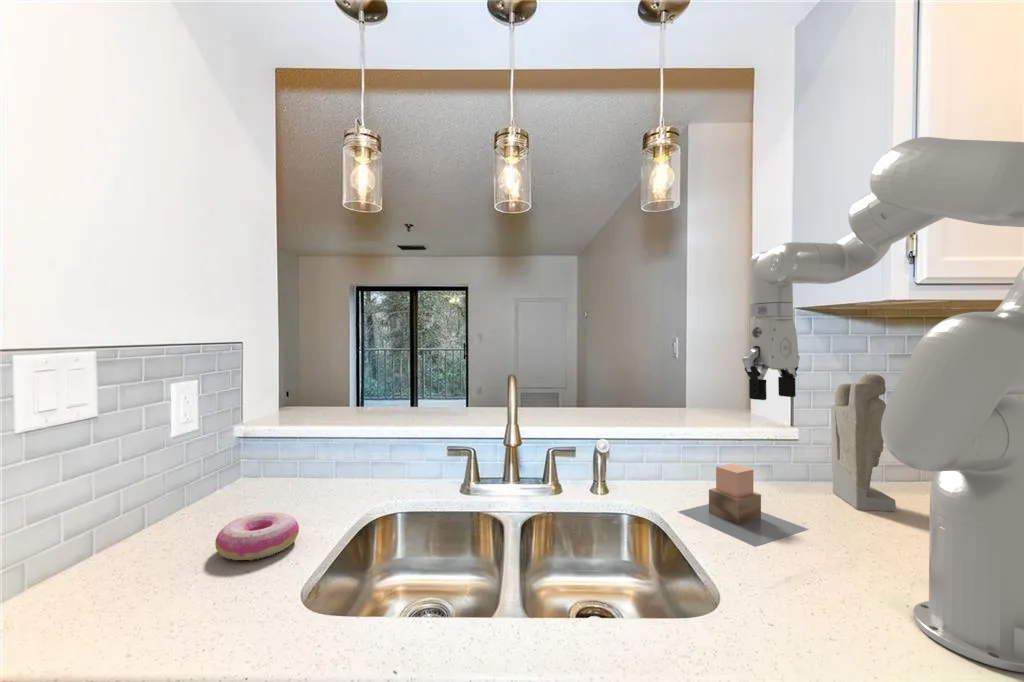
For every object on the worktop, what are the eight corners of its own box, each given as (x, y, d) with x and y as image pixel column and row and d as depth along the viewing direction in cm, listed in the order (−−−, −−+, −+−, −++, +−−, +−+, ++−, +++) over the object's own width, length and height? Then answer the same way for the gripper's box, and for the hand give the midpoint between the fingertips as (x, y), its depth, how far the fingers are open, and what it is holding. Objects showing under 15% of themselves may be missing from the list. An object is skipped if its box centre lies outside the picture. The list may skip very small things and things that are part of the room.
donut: (269, 569, 76) (268, 539, 76) (195, 565, 78) (195, 536, 77) (312, 534, 90) (312, 509, 90) (248, 531, 91) (248, 506, 91)
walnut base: (760, 518, 93) (761, 494, 93) (738, 525, 90) (738, 500, 90) (731, 507, 100) (731, 484, 100) (708, 512, 97) (708, 489, 97)
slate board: (808, 534, 88) (808, 529, 88) (755, 552, 81) (755, 546, 81) (727, 503, 104) (727, 499, 104) (677, 516, 97) (677, 511, 97)
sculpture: (904, 517, 96) (906, 376, 96) (861, 514, 98) (862, 375, 98) (865, 493, 111) (866, 370, 111) (828, 490, 113) (828, 370, 112)
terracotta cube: (753, 493, 94) (753, 469, 94) (737, 497, 92) (737, 473, 92) (732, 486, 98) (732, 463, 98) (716, 490, 96) (716, 466, 96)
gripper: (763, 310, 84) (764, 402, 84) (814, 313, 93) (816, 397, 92) (727, 313, 91) (728, 398, 91) (778, 315, 99) (779, 393, 99)
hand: (772, 397), depth 92 cm, fingers open, 9 cm apart
